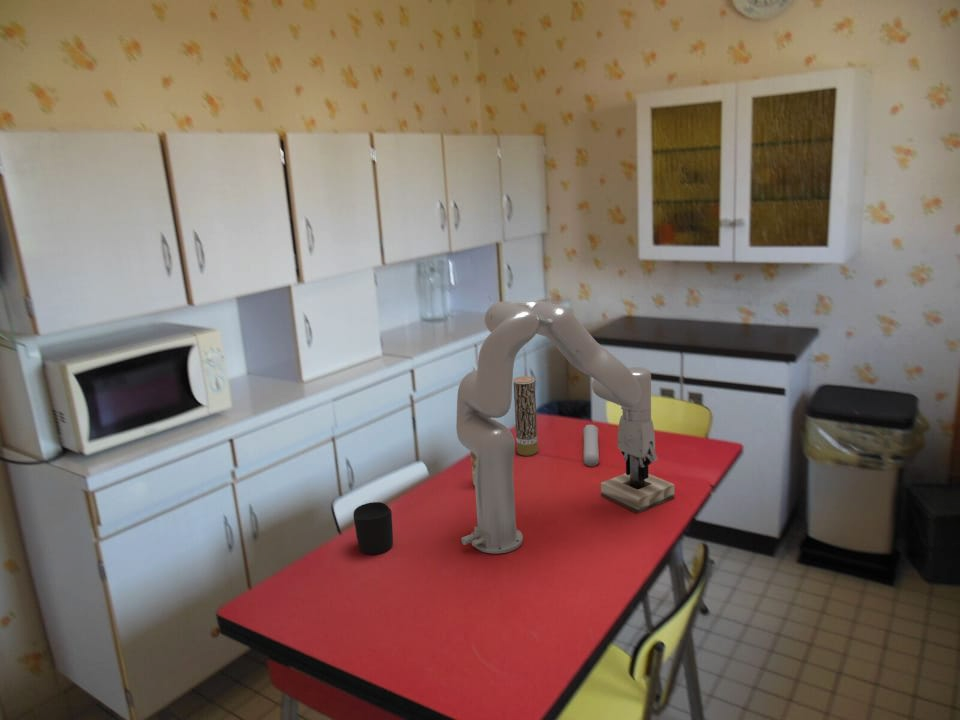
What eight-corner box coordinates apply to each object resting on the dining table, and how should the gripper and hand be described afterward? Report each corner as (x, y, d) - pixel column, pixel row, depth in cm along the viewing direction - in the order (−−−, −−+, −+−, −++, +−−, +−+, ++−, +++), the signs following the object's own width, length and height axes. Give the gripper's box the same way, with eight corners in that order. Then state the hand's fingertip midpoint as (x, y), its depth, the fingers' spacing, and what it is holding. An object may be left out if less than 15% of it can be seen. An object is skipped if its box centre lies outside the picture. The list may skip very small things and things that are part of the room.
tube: (602, 456, 219) (600, 426, 243) (585, 451, 219) (585, 422, 243) (597, 471, 221) (595, 440, 244) (580, 466, 221) (580, 436, 245)
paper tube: (514, 450, 237) (510, 378, 231) (533, 447, 239) (530, 375, 233) (521, 458, 231) (517, 383, 225) (541, 454, 233) (537, 380, 227)
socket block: (638, 513, 190) (637, 499, 189) (601, 495, 202) (600, 482, 200) (674, 497, 198) (674, 484, 197) (636, 481, 209) (636, 469, 208)
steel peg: (637, 494, 196) (637, 453, 193) (626, 489, 200) (626, 449, 197) (647, 490, 198) (647, 449, 195) (637, 485, 202) (636, 445, 199)
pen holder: (400, 538, 185) (396, 503, 182) (386, 557, 176) (382, 520, 174) (366, 536, 187) (362, 501, 185) (351, 554, 179) (346, 518, 176)
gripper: (604, 409, 198) (605, 470, 203) (650, 424, 184) (650, 490, 189) (624, 403, 202) (625, 463, 207) (670, 417, 188) (670, 482, 193)
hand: (637, 475), depth 198 cm, fingers closed on steel peg, 4 cm apart
